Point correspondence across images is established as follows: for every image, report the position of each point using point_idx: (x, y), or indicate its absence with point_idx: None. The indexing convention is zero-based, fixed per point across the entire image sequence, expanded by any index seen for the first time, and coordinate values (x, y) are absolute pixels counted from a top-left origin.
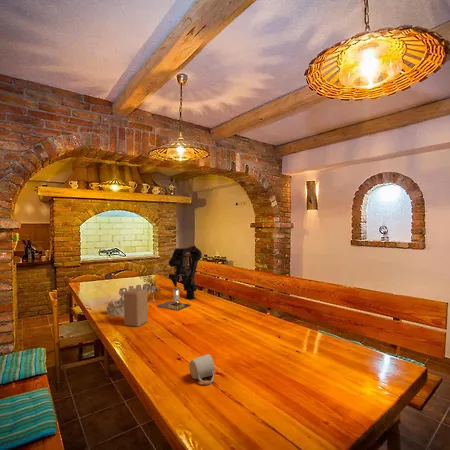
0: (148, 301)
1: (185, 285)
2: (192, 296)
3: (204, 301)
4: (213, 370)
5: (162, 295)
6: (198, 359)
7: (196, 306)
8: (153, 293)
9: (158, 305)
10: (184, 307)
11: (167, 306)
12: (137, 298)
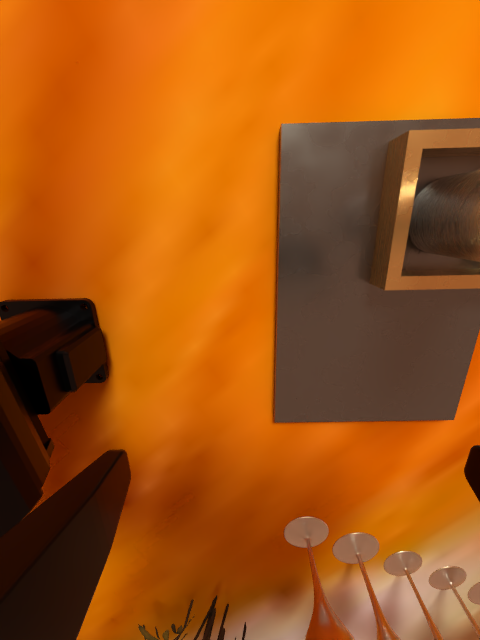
0: (349, 539)
1: (8, 483)
2: (41, 315)
3: (22, 101)
4: None
5: (159, 565)
6: None
7: (264, 29)
8: (327, 603)
9: (450, 406)
10: (408, 122)
11: (453, 316)
12: None
